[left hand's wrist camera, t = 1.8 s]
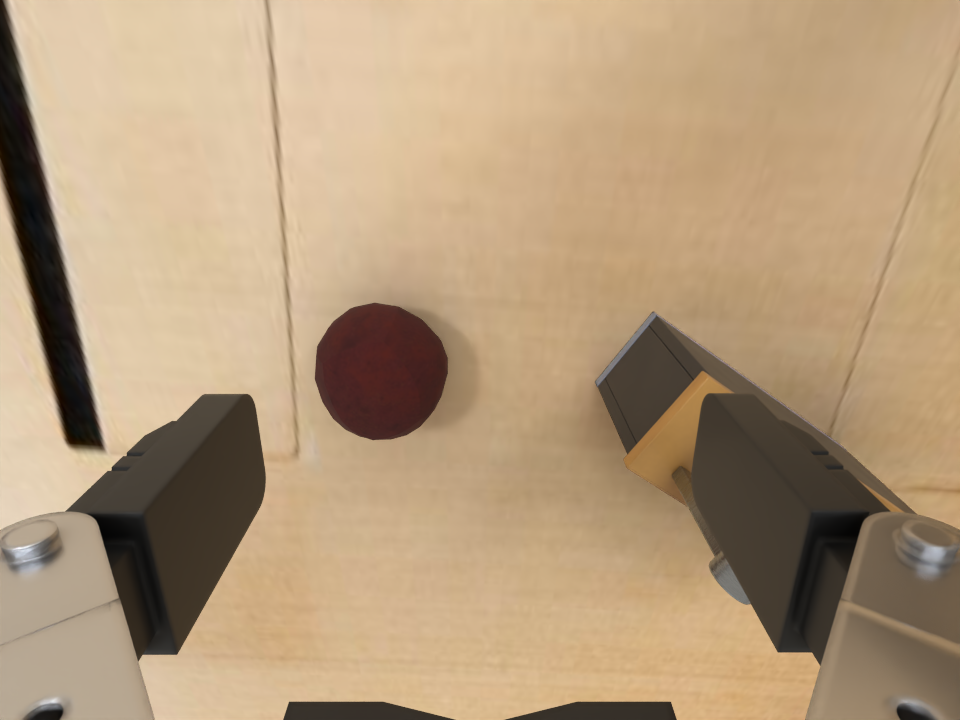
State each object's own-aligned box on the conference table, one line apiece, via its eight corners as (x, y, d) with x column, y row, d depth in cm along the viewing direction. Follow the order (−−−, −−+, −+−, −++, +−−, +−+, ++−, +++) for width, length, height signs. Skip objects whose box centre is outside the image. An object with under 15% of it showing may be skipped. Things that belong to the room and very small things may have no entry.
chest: (594, 381, 39) (631, 464, 30) (653, 311, 37) (711, 375, 28) (779, 504, 43) (863, 613, 33) (840, 444, 41) (947, 541, 32)
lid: (622, 459, 30) (676, 587, 22) (702, 369, 28) (792, 472, 20) (864, 613, 33) (988, 772, 25) (948, 542, 31) (1110, 689, 23)
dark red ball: (367, 420, 40) (345, 480, 33) (308, 316, 37) (272, 359, 31) (470, 378, 39) (468, 432, 32) (416, 269, 36) (403, 302, 30)
